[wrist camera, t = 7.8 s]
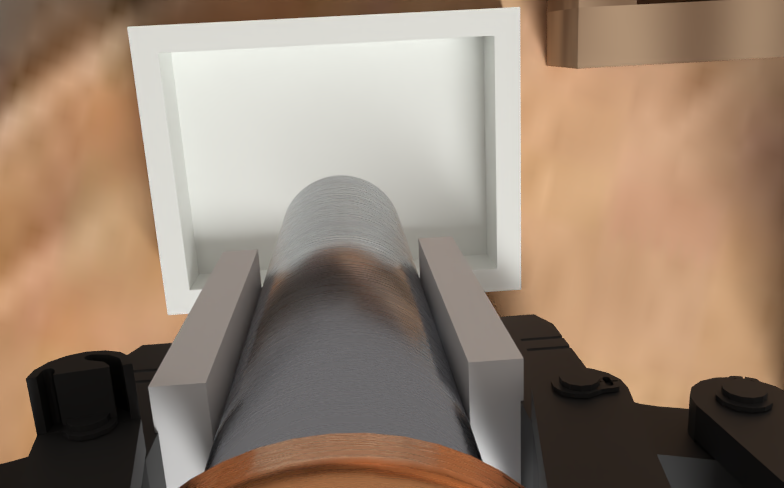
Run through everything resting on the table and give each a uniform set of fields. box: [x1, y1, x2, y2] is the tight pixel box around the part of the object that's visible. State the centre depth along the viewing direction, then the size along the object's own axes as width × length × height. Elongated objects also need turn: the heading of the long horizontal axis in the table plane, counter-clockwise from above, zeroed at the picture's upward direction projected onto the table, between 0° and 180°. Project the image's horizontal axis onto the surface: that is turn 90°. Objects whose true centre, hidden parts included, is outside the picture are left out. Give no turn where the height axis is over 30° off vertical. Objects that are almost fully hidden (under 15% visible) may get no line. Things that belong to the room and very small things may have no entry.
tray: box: [127, 7, 521, 315], centre depth 36 cm, size 18×14×3 cm
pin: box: [179, 175, 525, 488], centre depth 14 cm, size 5×5×17 cm
